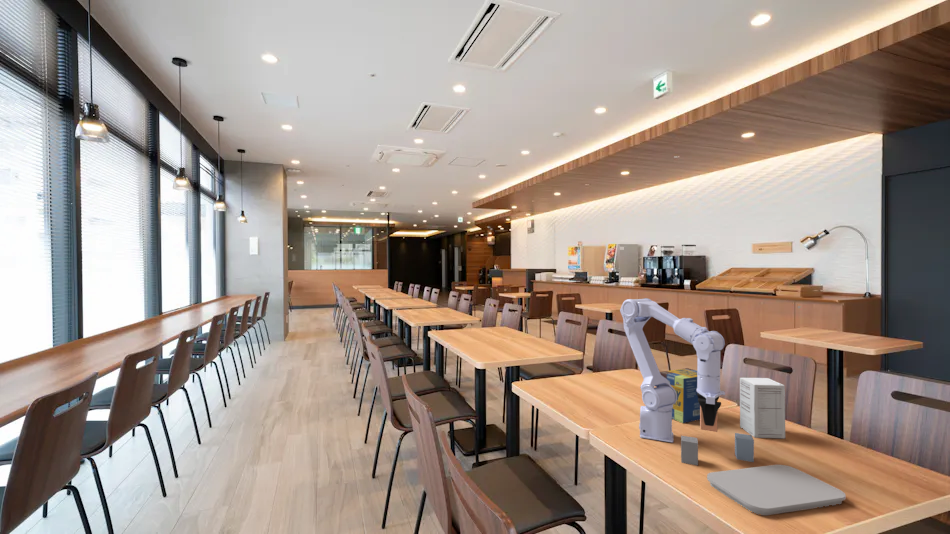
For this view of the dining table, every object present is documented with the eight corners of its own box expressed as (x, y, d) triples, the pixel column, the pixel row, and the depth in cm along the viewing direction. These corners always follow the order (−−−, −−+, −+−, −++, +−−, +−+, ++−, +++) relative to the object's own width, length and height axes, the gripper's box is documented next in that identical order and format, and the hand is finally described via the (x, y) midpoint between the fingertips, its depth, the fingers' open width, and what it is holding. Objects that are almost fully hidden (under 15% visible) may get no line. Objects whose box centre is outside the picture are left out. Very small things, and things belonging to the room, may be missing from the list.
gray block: (681, 462, 115) (681, 440, 115) (681, 456, 119) (681, 435, 119) (697, 465, 114) (698, 443, 114) (697, 459, 117) (697, 438, 117)
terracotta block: (700, 429, 119) (701, 408, 119) (700, 424, 122) (700, 404, 122) (717, 432, 117) (717, 410, 117) (715, 427, 121) (716, 406, 121)
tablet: (700, 482, 105) (701, 473, 105) (785, 472, 111) (785, 463, 111) (757, 520, 90) (758, 510, 90) (853, 506, 95) (853, 496, 95)
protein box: (658, 414, 154) (658, 371, 154) (687, 408, 161) (687, 367, 161) (683, 423, 145) (683, 378, 145) (713, 417, 151) (713, 374, 151)
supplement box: (769, 428, 141) (769, 377, 141) (786, 439, 132) (786, 385, 132) (738, 426, 142) (738, 376, 142) (754, 437, 133) (754, 384, 133)
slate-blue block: (736, 459, 118) (736, 437, 118) (734, 453, 121) (734, 432, 121) (753, 462, 116) (753, 440, 116) (751, 456, 120) (751, 435, 120)
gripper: (728, 382, 112) (727, 433, 111) (722, 370, 125) (722, 416, 125) (697, 379, 115) (697, 429, 114) (695, 368, 128) (695, 413, 128)
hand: (708, 422), depth 120 cm, fingers closed on terracotta block, 4 cm apart
